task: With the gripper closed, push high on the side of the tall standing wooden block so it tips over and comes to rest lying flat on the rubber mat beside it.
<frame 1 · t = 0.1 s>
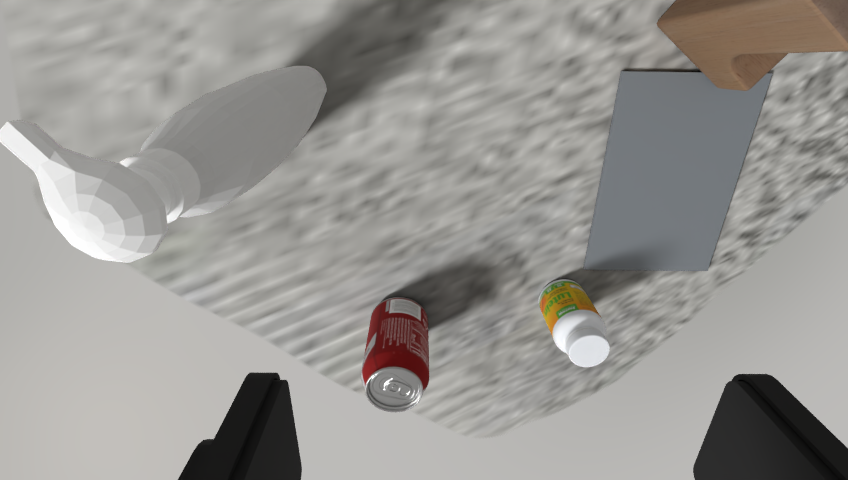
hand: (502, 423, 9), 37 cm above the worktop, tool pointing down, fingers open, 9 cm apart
rubber mat: (667, 180, 45), on the worktop
supplement bottle: (560, 296, 52), on the worktop
soap bottle: (273, 110, 42), on the worktop
soda can: (399, 316, 53), on the worktop
wooden block: (705, 36, 40), on the worktop
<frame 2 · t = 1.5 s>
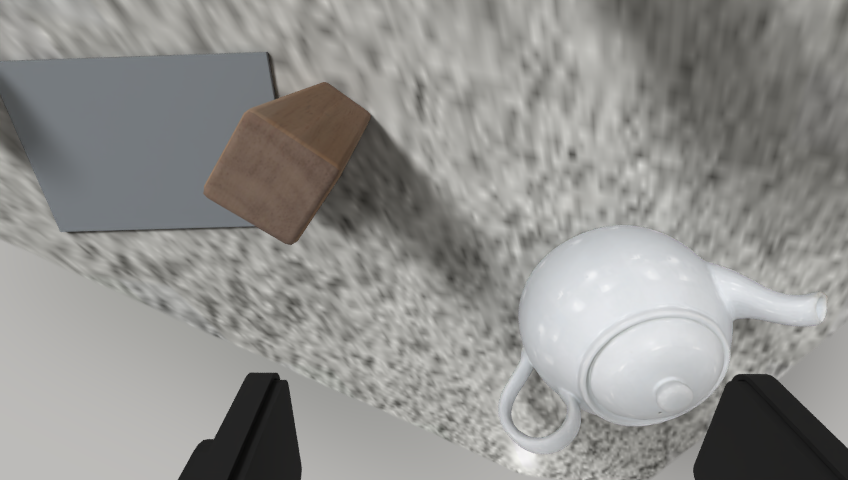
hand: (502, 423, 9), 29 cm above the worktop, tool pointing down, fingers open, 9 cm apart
rubber mat: (156, 148, 36), on the worktop
teapot: (597, 297, 43), on the worktop
wooden block: (320, 144, 36), on the worktop, touching rubber mat
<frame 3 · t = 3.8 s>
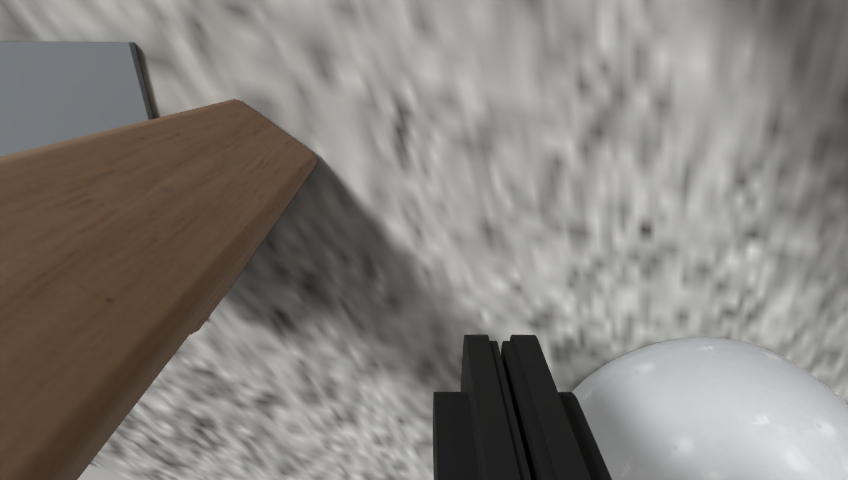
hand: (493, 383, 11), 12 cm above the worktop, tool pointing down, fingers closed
teapot: (658, 427, 29), on the worktop
wooden block: (234, 199, 21), on the worktop, touching rubber mat
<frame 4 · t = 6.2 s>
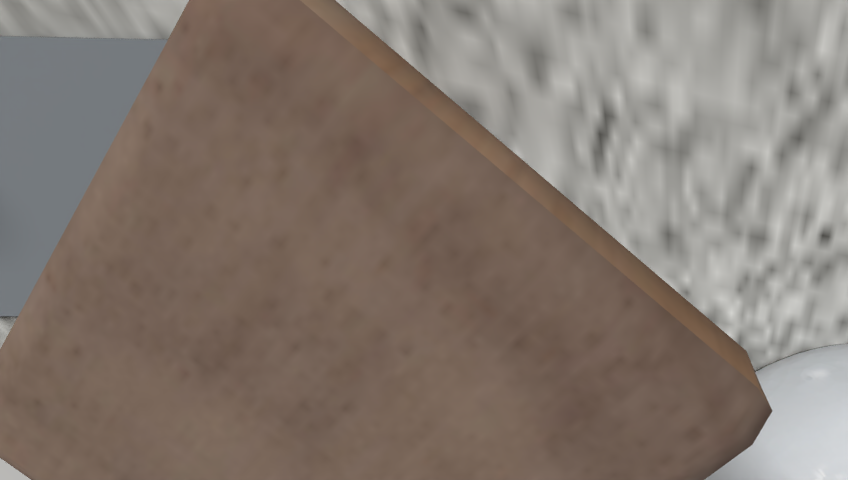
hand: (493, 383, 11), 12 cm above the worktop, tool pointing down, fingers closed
rubber mat: (147, 195, 21), on the worktop
teapot: (795, 432, 29), on the worktop
wooden block: (423, 204, 21), point 1 cm above the worktop, touching rubber mat
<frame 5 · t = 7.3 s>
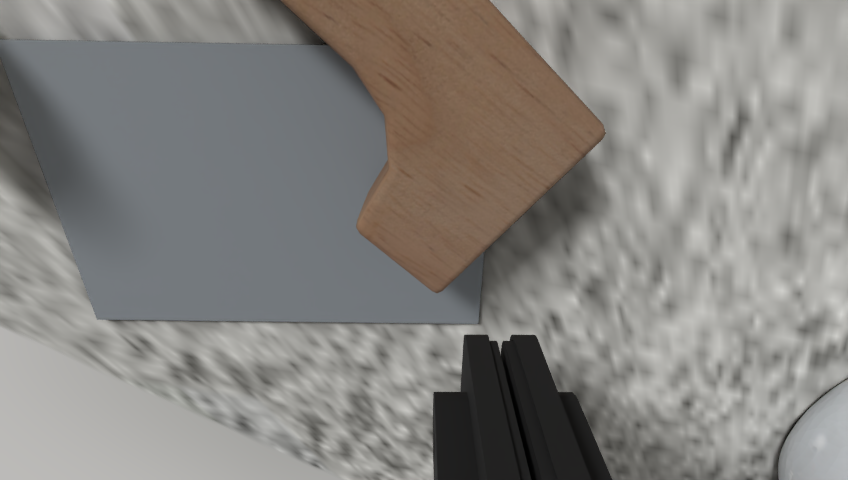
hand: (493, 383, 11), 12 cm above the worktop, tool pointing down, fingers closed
rubber mat: (274, 199, 21), on the worktop
wooden block: (511, 208, 19), point 3 cm above the worktop, touching rubber mat
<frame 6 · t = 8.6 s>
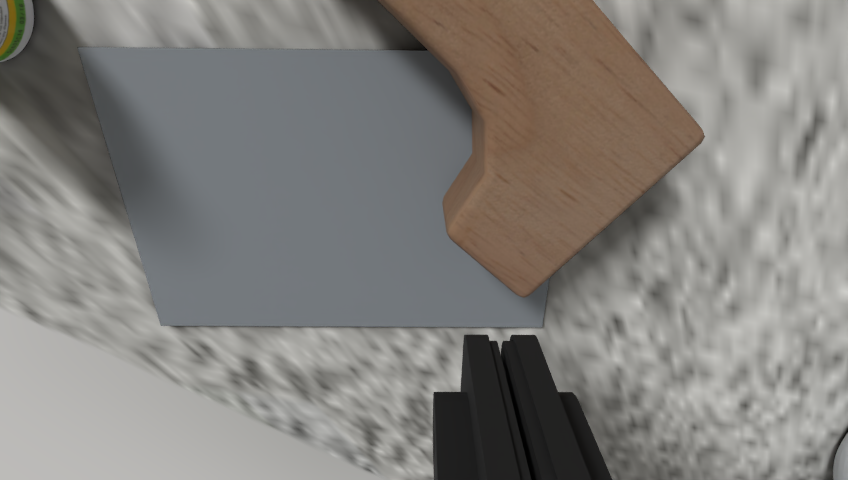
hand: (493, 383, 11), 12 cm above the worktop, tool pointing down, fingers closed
rubber mat: (344, 204, 21), on the worktop
wooden block: (593, 211, 19), point 3 cm above the worktop, touching rubber mat
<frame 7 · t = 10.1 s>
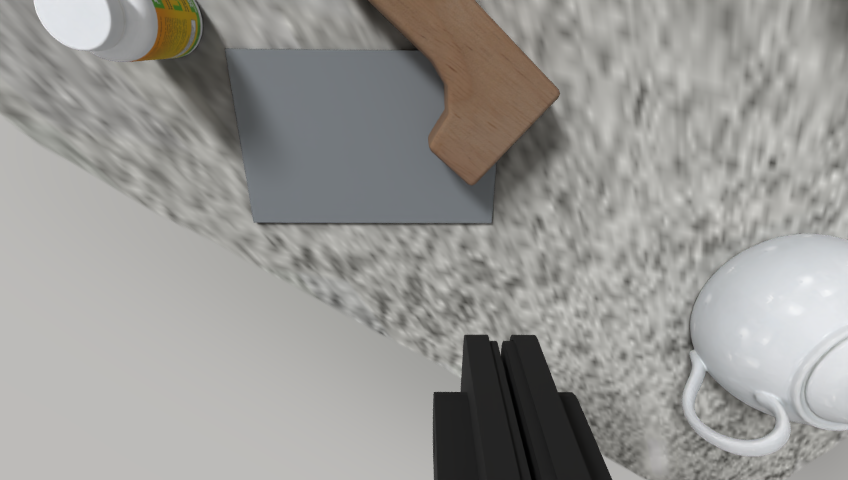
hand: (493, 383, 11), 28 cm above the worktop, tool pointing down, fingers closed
rubber mat: (370, 142, 36), on the worktop
teapot: (763, 304, 44), on the worktop
supplement bottle: (168, 18, 32), on the worktop
wooden block: (512, 140, 33), point 3 cm above the worktop, touching rubber mat
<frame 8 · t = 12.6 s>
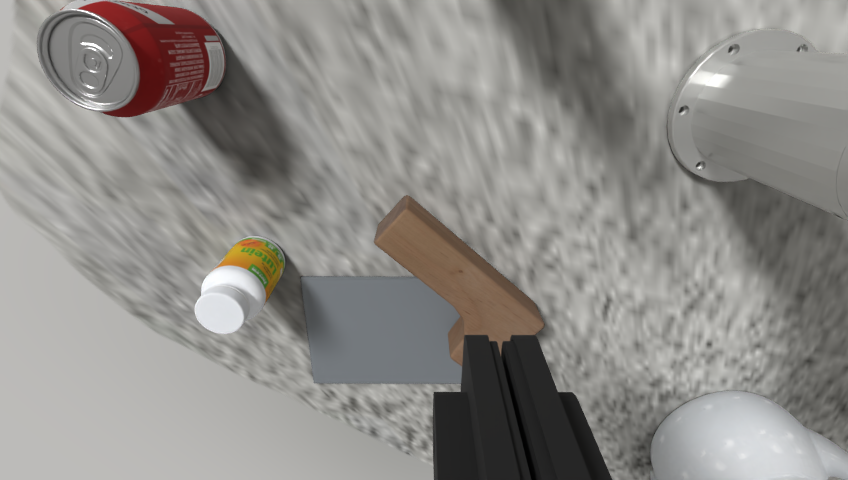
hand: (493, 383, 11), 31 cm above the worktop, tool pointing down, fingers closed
rubber mat: (404, 332, 48), on the worktop
teapot: (708, 434, 55), on the worktop
supplement bottle: (260, 257, 44), on the worktop
soda can: (189, 54, 36), on the worktop
wooden block: (510, 343, 45), point 3 cm above the worktop, touching rubber mat
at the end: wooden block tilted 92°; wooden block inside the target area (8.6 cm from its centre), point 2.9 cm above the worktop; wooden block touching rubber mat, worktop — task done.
